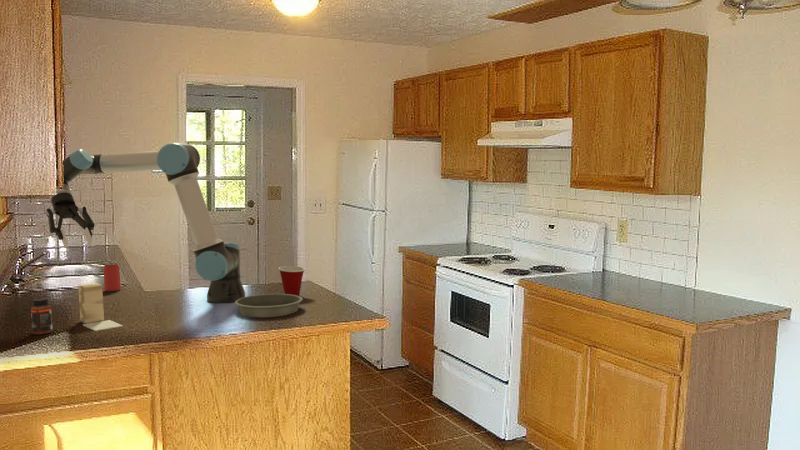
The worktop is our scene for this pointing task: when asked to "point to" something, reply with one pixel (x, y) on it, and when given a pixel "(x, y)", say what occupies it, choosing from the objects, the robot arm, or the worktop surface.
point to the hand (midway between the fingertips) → (78, 244)
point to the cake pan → (257, 308)
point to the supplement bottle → (41, 317)
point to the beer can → (111, 277)
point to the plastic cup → (291, 279)
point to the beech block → (91, 303)
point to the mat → (102, 325)
